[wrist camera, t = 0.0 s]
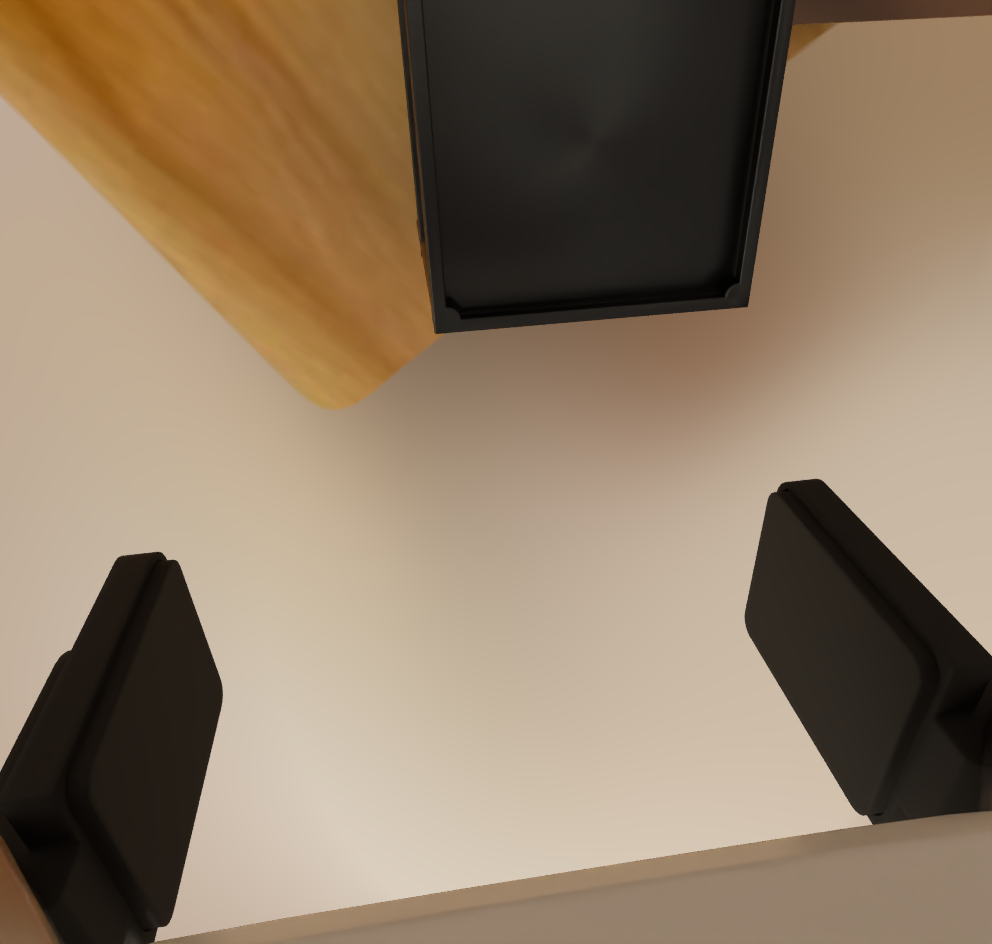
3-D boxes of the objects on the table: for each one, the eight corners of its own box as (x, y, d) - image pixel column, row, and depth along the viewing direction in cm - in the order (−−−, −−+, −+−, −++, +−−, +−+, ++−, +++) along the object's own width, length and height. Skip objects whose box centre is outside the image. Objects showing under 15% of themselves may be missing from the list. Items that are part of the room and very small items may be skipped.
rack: (391, -39, 32) (398, -77, 20) (648, -48, 33) (811, -91, 21) (417, 233, 39) (434, 334, 26) (632, 217, 40) (748, 307, 27)
